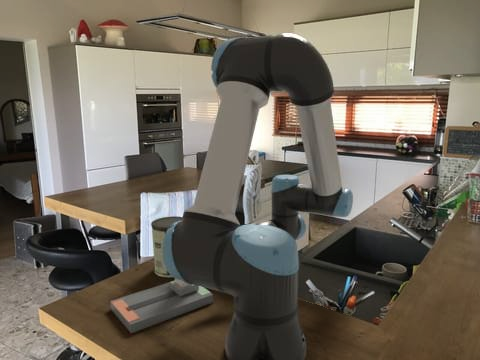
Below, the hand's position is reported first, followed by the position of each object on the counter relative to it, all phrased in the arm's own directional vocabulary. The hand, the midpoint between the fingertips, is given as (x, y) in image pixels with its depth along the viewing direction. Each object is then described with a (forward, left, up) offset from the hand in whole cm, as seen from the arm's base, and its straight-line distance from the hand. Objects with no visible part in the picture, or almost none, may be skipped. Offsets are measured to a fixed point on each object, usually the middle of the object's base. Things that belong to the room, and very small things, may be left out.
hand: (190, 257), depth 93 cm
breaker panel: (0, +8, -10) cm, 12 cm away
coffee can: (+16, -3, -10) cm, 19 cm away
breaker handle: (0, +2, -7) cm, 8 cm away
